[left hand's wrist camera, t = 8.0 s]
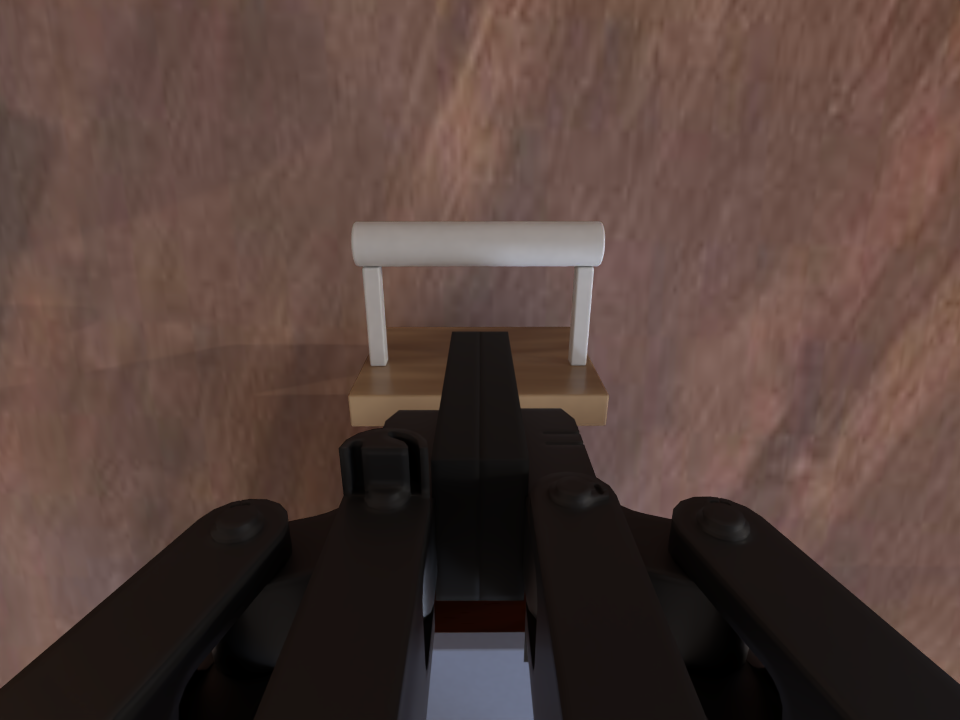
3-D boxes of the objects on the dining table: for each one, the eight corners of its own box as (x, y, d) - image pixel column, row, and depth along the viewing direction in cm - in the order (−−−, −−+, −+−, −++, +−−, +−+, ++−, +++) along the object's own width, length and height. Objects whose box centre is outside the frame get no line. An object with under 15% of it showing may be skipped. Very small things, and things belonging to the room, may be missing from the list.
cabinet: (387, 506, 29) (352, 650, 21) (568, 505, 29) (605, 649, 21) (404, 709, 35) (382, 882, 27) (553, 708, 35) (576, 880, 27)
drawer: (373, 206, 22) (330, 235, 16) (582, 206, 22) (625, 234, 16) (401, 584, 30) (380, 707, 24) (555, 583, 30) (577, 706, 24)
